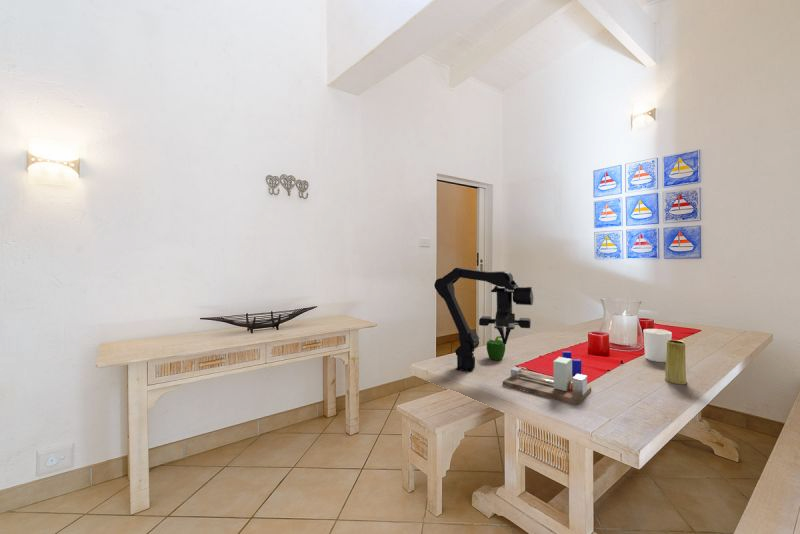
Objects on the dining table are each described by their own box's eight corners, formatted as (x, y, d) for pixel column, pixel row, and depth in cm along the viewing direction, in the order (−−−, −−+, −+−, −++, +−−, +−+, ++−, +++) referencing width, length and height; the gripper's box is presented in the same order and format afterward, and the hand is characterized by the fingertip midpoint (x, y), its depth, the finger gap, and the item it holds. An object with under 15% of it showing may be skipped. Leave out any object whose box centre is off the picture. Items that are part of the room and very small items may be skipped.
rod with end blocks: (509, 380, 127) (509, 364, 127) (515, 376, 131) (515, 361, 131) (582, 397, 111) (582, 380, 110) (587, 393, 114) (587, 375, 114)
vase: (682, 379, 125) (682, 340, 125) (689, 385, 120) (690, 344, 119) (661, 377, 127) (662, 339, 127) (668, 383, 122) (669, 343, 121)
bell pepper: (489, 361, 151) (489, 339, 150) (484, 356, 159) (484, 334, 158) (508, 361, 151) (508, 338, 150) (502, 355, 159) (502, 334, 159)
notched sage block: (553, 388, 116) (553, 361, 116) (559, 382, 120) (559, 356, 120) (566, 391, 113) (566, 363, 113) (572, 385, 118) (572, 358, 117)
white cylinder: (677, 362, 143) (678, 333, 142) (653, 363, 143) (653, 334, 143) (660, 355, 153) (660, 328, 152) (637, 356, 153) (637, 329, 152)
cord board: (502, 385, 124) (502, 380, 124) (519, 374, 135) (519, 370, 135) (578, 404, 107) (578, 399, 107) (591, 390, 117) (591, 386, 117)
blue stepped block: (558, 365, 144) (558, 351, 144) (570, 365, 143) (569, 351, 143) (568, 376, 132) (568, 360, 132) (581, 376, 131) (581, 360, 131)
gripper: (476, 306, 130) (476, 347, 131) (529, 308, 123) (529, 351, 123) (481, 302, 140) (482, 340, 141) (530, 303, 133) (531, 343, 134)
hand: (505, 343), depth 134 cm, fingers closed
